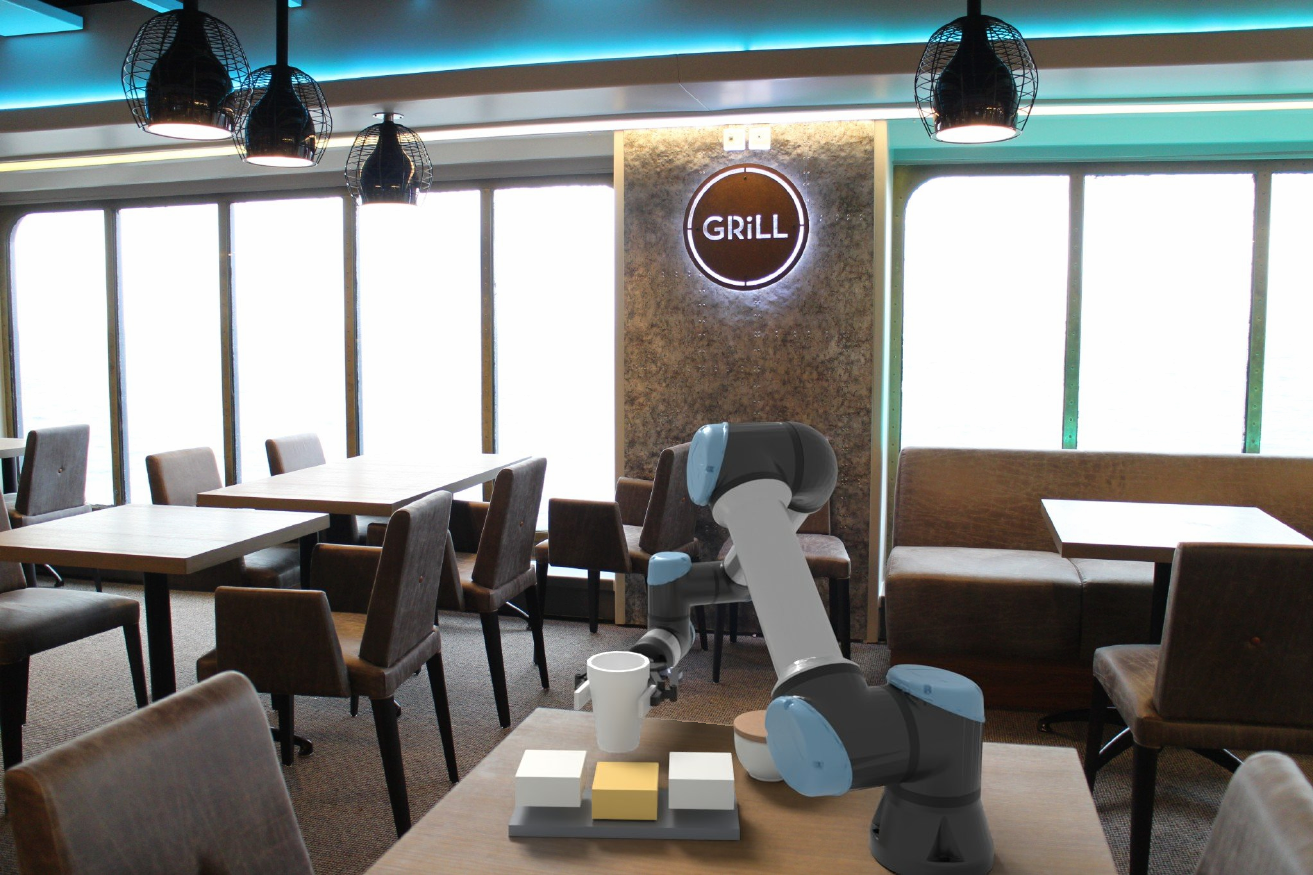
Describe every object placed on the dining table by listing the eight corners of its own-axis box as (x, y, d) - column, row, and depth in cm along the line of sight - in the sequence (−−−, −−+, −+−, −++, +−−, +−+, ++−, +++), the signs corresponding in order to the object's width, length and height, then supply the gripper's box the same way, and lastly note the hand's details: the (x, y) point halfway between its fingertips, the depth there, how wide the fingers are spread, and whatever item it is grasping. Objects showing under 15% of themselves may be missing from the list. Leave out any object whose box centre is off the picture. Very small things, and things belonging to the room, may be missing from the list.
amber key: (658, 790, 136) (658, 762, 136) (656, 819, 128) (656, 790, 127) (597, 789, 137) (597, 761, 136) (591, 818, 128) (591, 789, 128)
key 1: (586, 778, 136) (586, 750, 136) (580, 806, 128) (579, 777, 128) (525, 777, 137) (525, 749, 136) (515, 805, 128) (515, 776, 128)
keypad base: (735, 800, 137) (735, 790, 137) (739, 840, 126) (739, 829, 126) (522, 797, 138) (522, 787, 138) (508, 836, 127) (508, 825, 127)
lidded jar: (721, 764, 150) (721, 704, 149) (783, 753, 153) (784, 695, 153) (753, 793, 140) (753, 730, 139) (818, 782, 144) (819, 720, 143)
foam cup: (652, 733, 153) (652, 652, 151) (645, 758, 144) (646, 672, 142) (592, 730, 154) (592, 650, 152) (581, 755, 145) (581, 670, 143)
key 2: (730, 780, 136) (731, 752, 135) (733, 809, 127) (734, 779, 127) (669, 779, 136) (669, 751, 136) (668, 808, 128) (668, 778, 127)
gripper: (716, 686, 162) (680, 739, 141) (591, 672, 168) (539, 721, 147) (716, 642, 161) (680, 688, 140) (591, 630, 168) (538, 672, 146)
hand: (608, 705), depth 144 cm, fingers closed on foam cup, 9 cm apart
